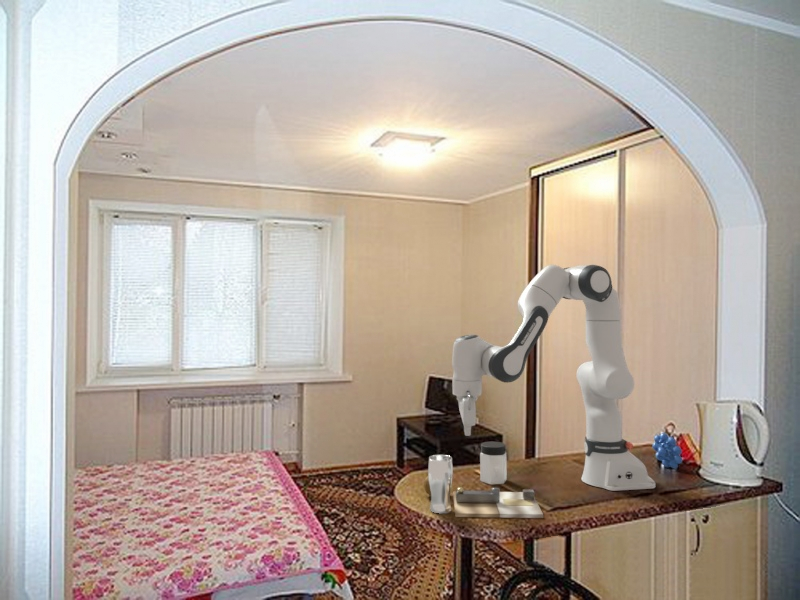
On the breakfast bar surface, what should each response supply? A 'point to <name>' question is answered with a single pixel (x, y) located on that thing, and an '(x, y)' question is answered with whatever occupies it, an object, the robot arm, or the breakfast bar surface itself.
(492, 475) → the jar
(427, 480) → the onion
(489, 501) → the bar
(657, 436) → the grapes
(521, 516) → the door board
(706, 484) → the breakfast bar surface
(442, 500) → the beer glass
